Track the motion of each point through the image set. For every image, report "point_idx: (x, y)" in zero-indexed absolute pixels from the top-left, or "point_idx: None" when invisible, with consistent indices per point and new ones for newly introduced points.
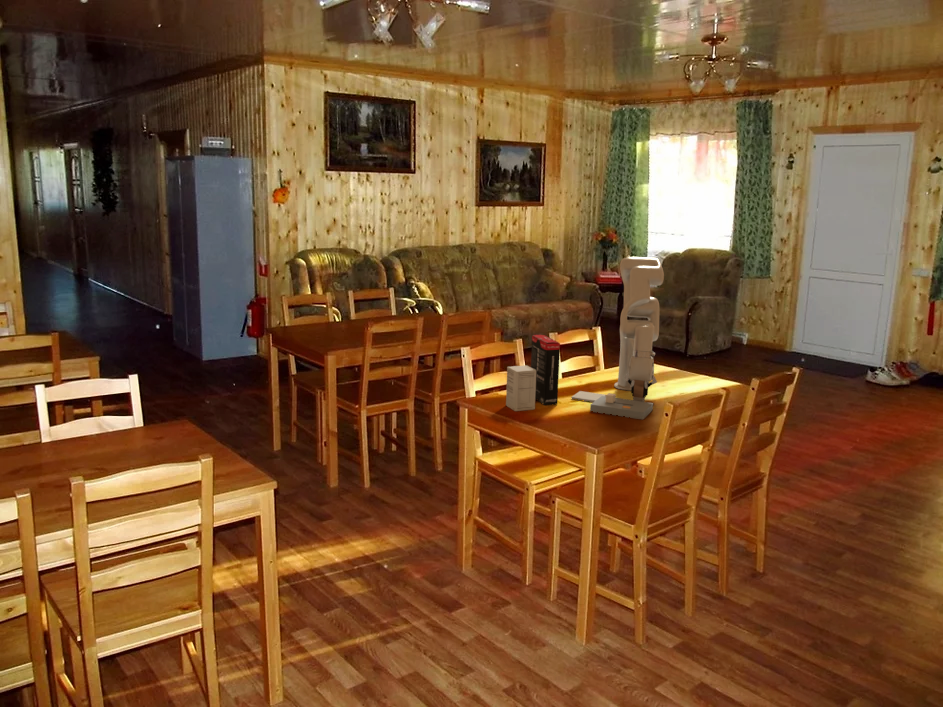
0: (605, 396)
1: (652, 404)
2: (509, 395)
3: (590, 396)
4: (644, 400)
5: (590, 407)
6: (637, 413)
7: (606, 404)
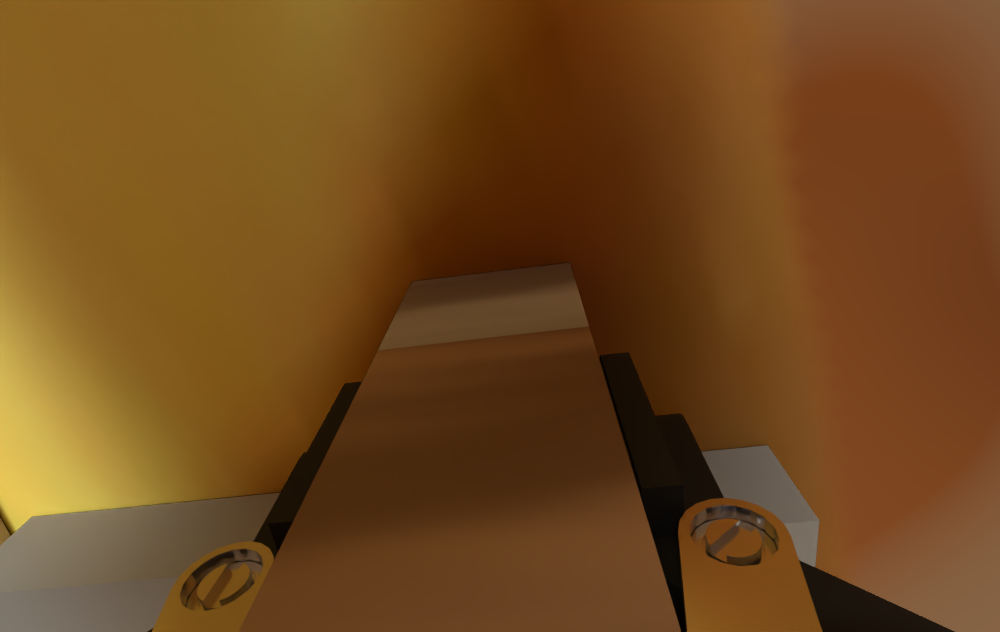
0: (9, 603)
1: (810, 546)
2: None
3: None
4: (579, 299)
5: None
6: None
7: None
